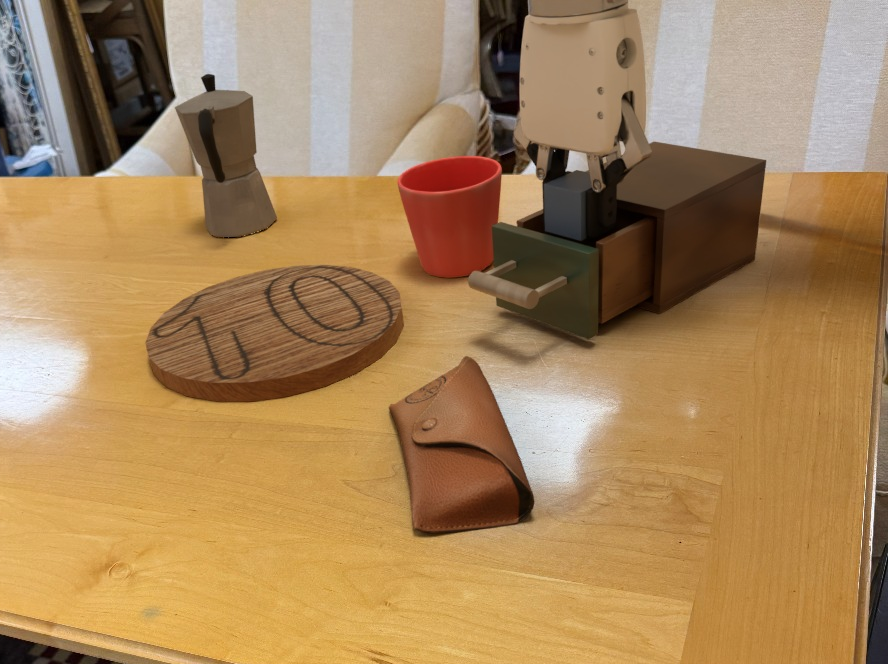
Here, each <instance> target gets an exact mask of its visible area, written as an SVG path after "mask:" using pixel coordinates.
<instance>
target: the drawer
mask: <svg viewBox="0 0 888 664" xmlns="http://www.w3.org/2000/svg"><path fill="white" fill-rule="evenodd" d="M657 218H658V217H654V216H650V215H646V214H641V213H637V212H633V211H629V210H624V209H620V208H616V225H615V227H614V228H613V229H611V230H609V231H607V232H605V233H603V234H601V235H599V236H597V237H595V238H591V237H588V238H586V239H584V240H582V241H579V240H575V239H572V238H568V237H564V236H561V235H557V234H553V233H550V232H546V231H545V225H544V222H543V208H541V209H540V210H537V211H535V212H533V213H531V214H528V215H526V216H524V217H522V218H520V219H517V220H516V225H513V224H510V223H507V222H503V221H498V223H497V224H495V225H493V226H492V242H493V258H494V259H493V268H492V269H490V270H488V271H486V272H483V271H473V272H472V273H471V274H470V275H468V280H467V284H468V287H469V288H470V289H471V290H474V291H477V292H480V293H483V294H486V295H489V296H492V297H494V298H495V305H496V306H497V307H498V308H502V309H504V310H507V311H510V312H513V313H515V314H518V315H520V316H524V317H526V318H529V319H532V320H534V321H537V322H540V323H542V324H545V325H548V326H551V327H553V328H556V329H558V330H560V331H561V330H562V331H565V332H567V333H570V334H573V335H576V336H578V337H581V338H584V339H586V340H591V339H593V338H595V337H597V336H599V324H604V323H606V322H608V321H609V320H611V319H613V318H615V317H617V316H619V315H621V314H622V313H624V312H626V311H628V310H630V309H632V308H633V307H636V306H635V305H637V304H638V303H640V302H642V301H644V300H646V299H648V298H649V297H651V296H653V295H654V275H655V254H656V233H657Z"/></svg>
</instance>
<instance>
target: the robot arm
mask: <svg viewBox="0 0 888 664" xmlns="http://www.w3.org/2000/svg"><path fill="white" fill-rule="evenodd" d="M527 7H528V8H527V9H528V15H526V16H525V17H524V22H523V29H522V38H521V48H520V60H519V61H520V62H519V116H520V117H519V119H518V120H517V123H516V125H515V126H514V127H515V128H514V129H513V137H514V138H515V140H516V141H517V142H518V143H519V144H520V146H521V147H522V148H523V149H524V150H525V151H526V153H527V155H528V157H529V159H530V160H531V162H532V163H533V164H534V166H535V175H536V178H537V179H538V180H540V181H542V182H541V183H542V185H541V187H542V209H543V222H544V225H545V213H544V184H546V183H548V182H550V181H552V180H555V179H557V178H559V177H562V176H564V175H566V174H569V173H571V172H572V171H570V170H567V169H568V163H569V159H570V158H569V156H570V152H576V153H582V154H586V155H585V156H586V161H587V167H588V168H587V169H588V170H589V174H590V181H591V187H592V189H591V190H589V191H587V192H586V234H587V236H588V237H591V238H595V237H597V236H599V235H601V234H603V233H605V232H607V231H609V230H611V229H613V228H614V227H615V225H616V207H617V184H619V183H621V182H622V181H623V180H624V177H625V176H626V175H627V174H628V173H629V172H630V171H631V170H632V169H633V167H635V166H637V165H638V164H640V163H641V162H643V161H644V160H646V159H647V158H649V157H650V156H651V154H652V150H651V147H650V145H649V143H650V142H649V141H648V139H647V136H646V134H645V133H646V123H647V122H646V121H647V83H646V67H645V66H646V65H645V64H646V63H645V53H644V52H645V51H644V43H643V35H642V29H641V24H640V19H639V18H640V17H639V14H638V11H637V9H635V8H629V0H527ZM621 142H622V144H623V145H624V152H623V153H622V149H621V144H620V143H621ZM604 158H605V159H606V162H607V167H606V169H605V170H604V163H605V162H604Z"/></svg>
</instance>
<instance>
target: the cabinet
mask: <svg viewBox="0 0 888 664" xmlns="http://www.w3.org/2000/svg"><path fill="white" fill-rule="evenodd" d="M648 143H649V145H650V147H651V150H652V154H651V156H650V157H649V158H647V159H646V160H644V161H643V162H641V163H640V164H638V165H637V166H635V167H633V169H632V170H631V171H630V172H629V173H628V174H627V175H626V176H625V177H624V180H623V181H622V182H621V183H619V184H617V207H616V208H620V209H624V210H629V211H633V212H637V213H641V214H646V215H650V216H654V217H658V218H657V233H656V254H655V275H654V295H653V296H651V297H649V298H648V299H646V300H644V301H642V302H640V303H638V304H637V305H635V306H634V307H637V308H640V309H643V310H646V311H649V312H653V313H654V314H655V313H656V314H659V315H660V314H662V313H664V312H666V311H667V310H669V309H671V308H673V307H674V306H676V305H678V304H679V303H682V302H683V301H685V300H686V299H688V298H690V297H692V296H694V295H695V294H697V293H699V292H700V291H703V290H704V289H707V288H709V286H711V285H714V283H717V282H718V281H719V280H722V279H723V278H725V277H727V276H729V275H730V274H732V273H734V272H736V271H738V270H739V269H741V268H743V267H745V266H747V265H748V264H750V263H751V262H753V261H755V260H756V255H757V253H756V251H757V246H758V245H757V244H758V236H759V228H760V219H761V211H762V202H763V201H762V200H763V194H764V193H763V192H764V184H765V177H766V168H767V159H762V158H756V157H750V156H746V155H745V156H744V155H740V154H732V153H726V152H721V151H715V150H714V151H713V150H708V149H702V148H697V147H691V146H684V145H678V144H672V143H667V142H659V141H652V142H648ZM603 163H604V170H605V169H606V167H607V161H606V162H603ZM584 172H589V169H588V170H585V171H584Z"/></svg>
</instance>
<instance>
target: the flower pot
mask: <svg viewBox="0 0 888 664" xmlns="http://www.w3.org/2000/svg"><path fill="white" fill-rule="evenodd" d="M502 175H503V169H502V164H500V162H498V161H497V160H495V159H493V158H491V157H490V158H489V157H486V156H478V155H477V156H476V155H462V156H461V155H460V156H459V155H458V156H450V157H444V158H438V159H433V160H429V161H426V162H421V163H419V164H416V165H414V166H412V167H410V168H408V169H406V170H404V172H402V173H401V174H400V175H399V176H398V177H397V188H398V192H399V196H400V200H401V203H402V206H403V210H404V213H405V217H406V220H407V223H408V227H409V229H410V233H411V236H412V239H413V243H414V245H415V249H416V252H417V255H418V259H419V263H420V265H421V267H422V270H424V271H425V273H427V274H428V275H431V276H433V277H438V278H447V279H449V278H461V277H467V276H470V274H471V273H472V272H473V271H480V272H483V271H484V270H485V269H486V268H487V267H489V266H491V265H492V263H494V258H493V242H492V226H493V225H495V224H497V223H499V215H500V214H499V213H500V203H501V202H500V201H501V191H502V178H503V177H502Z"/></svg>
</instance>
